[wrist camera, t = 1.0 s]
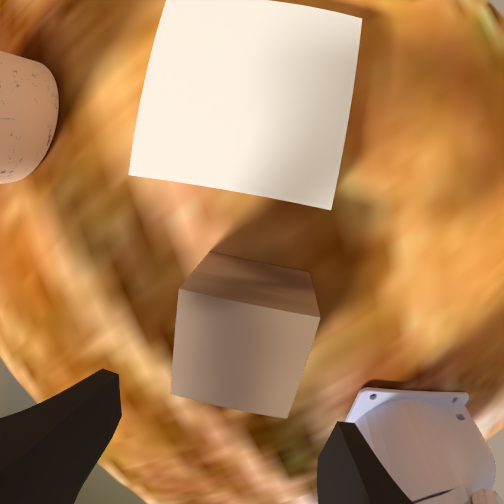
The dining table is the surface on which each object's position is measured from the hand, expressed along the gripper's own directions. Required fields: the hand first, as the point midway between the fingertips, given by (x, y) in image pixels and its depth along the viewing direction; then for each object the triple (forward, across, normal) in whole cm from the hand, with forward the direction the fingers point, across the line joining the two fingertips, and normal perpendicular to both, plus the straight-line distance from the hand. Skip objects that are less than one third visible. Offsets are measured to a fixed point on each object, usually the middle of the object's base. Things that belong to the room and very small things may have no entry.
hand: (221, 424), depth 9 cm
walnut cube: (+9, 0, 0) cm, 9 cm away
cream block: (+10, +2, -11) cm, 15 cm away
